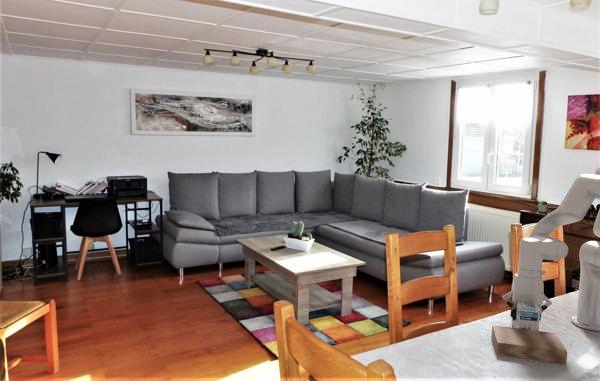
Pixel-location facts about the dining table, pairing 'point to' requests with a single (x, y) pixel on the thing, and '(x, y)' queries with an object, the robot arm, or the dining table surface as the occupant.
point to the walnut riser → (528, 344)
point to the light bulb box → (527, 317)
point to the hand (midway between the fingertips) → (525, 320)
